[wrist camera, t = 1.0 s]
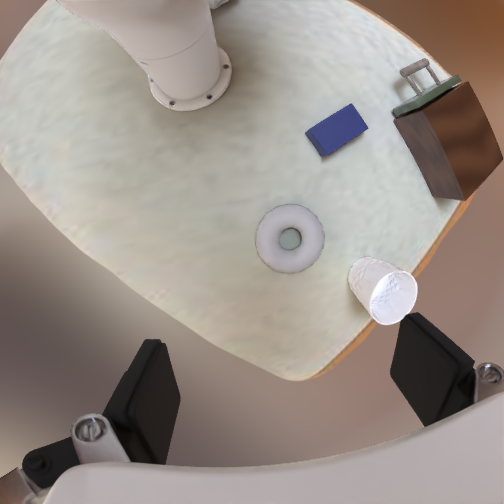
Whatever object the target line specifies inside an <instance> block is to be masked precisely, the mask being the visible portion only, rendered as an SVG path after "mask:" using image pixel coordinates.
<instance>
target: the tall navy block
mask: <svg viewBox="0 0 504 504" xmlns="http://www.w3.org/2000/svg"><path fill="white" fill-rule="evenodd" d="M367 129H368V126H367V125H366V123H365V122H364V120H363V119H362V118H361V116H360V115H359V113H358V112H357V110H356V109H355V107H354V106H353V105H352V103H351V104H349V105H348V106H346V107H344V108H343V109H341V110H339V111H338V112H336V113H334V114H333V115H331V116H330V117H328V118H326V119H325V120H323V121H321V122H320V123H318V124H317V125H315V126H314V127H312V128H310V129H309V130H308V131H307V132H305V134H306V135H307V137H308V138H309V139H310V141H311V142H312V143H313V145H314V146H315V148H316V149H317V151H318V152H319V153H320V155H321V156H322V157H324V156H327V155H329V154H331V153H332V152H334V151H335V150H337V149H338V148H340V147H341V146H343V145H344V144H346V143H347V142H349V141H350V140H352V139H353V138H355V137H356V136H358V135H359V134H361V133H362V132H364V131H365V130H367Z"/></svg>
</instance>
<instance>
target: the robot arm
mask: <svg viewBox="0 0 504 504" xmlns="http://www.w3.org/2000/svg"><path fill="white" fill-rule="evenodd" d="M56 1H57V2H58V3H59V4H60V5H62V6H63V7H64V8H65V9H66V10H68V11H69V12H71V13H72V14H74V15H76V16H78V17H80V18H81V19H84V20H86V21H88V22H90V23H92V24H94V25H96V26H98V27H100V28H101V29H103V30H104V31H106V32H107V33H108V34H109V35H111V36H112V37H113V38H114V39H115V40H116V41H117V42H118V43H119V44H120V45H121V46H122V47H123V48H124V49H125V50H126V51H127V52H128V53H129V54H130V56H131V57H132V58H133V59H134V60H135V61H136V62H137V63H138V64H139V65H140V66H141V67H142V69H143V70H144V71H145V72H146V73H147V74H148V75H149V87H150V90H151V93H152V94H153V96H154V98H155V99H156V100H157V101H158V102H159V103H161V104H162V105H163V106H165V107H167V108H169V109H172V110H176V111H193V110H197V109H201V108H203V107H206V106H208V105H210V104H211V103H213V102H214V101H216V100H217V99H218V98H219V97H220V96H221V95H222V94H223V93H224V92H225V90H226V89H227V87H228V85H229V83H230V80H231V75H232V66H231V62H230V59H229V57H228V55H227V53H226V52H225V51H224V50H223V49H222V48H221V47H219V46H218V45H217V43H216V38H215V33H214V28H213V22H212V17H211V12H210V7H209V4H208V1H207V0H56ZM225 68H228V69H225ZM209 97H212V99H209ZM173 103H175V104H174V105H173V106H172V104H173ZM474 363H475V361H474V360H473V359H472V358H471V357H470V356H469V355H468V354H466V353H465V352H464V351H463V350H462V349H461V348H460V347H459V346H457V345H456V344H455V343H454V342H453V341H452V340H451V339H449V338H448V337H447V336H446V335H445V334H444V333H442V332H441V331H440V330H439V329H438V328H437V327H435V326H434V325H433V324H432V323H430V322H429V321H428V320H427V319H425V317H423V316H422V315H421V314H420V313H418V312H416V313H411V314H406V315H405V316H404V318H403V319H402V320H401V322H400V328H399V333H398V338H397V343H396V348H395V352H394V357H393V361H392V365H391V369H390V375H391V378H392V379H393V381H394V382H395V383H396V385H397V386H398V388H399V389H400V391H401V392H402V393H403V395H404V396H405V398H406V399H407V401H408V402H409V404H410V405H411V407H412V408H413V410H414V411H415V413H416V414H417V416H418V417H419V419H420V420H421V422H422V423H423V425H424V426H425V427H424V428H422V429H419V430H417V431H414V432H412V433H409V434H407V435H404V436H401V437H398V438H395V439H392V440H389V441H386V442H383V443H380V444H377V445H374V446H370V447H366V448H363V449H359V450H355V451H351V452H347V453H343V454H339V455H334V456H329V457H324V458H319V459H314V460H307V461H301V462H295V463H286V464H278V465H267V466H253V467H223V468H222V467H217V468H216V467H184V466H170V465H165V464H166V460H167V455H168V451H169V446H170V442H171V438H172V433H173V430H174V425H175V421H176V417H177V413H178V409H179V405H180V393H179V389H178V386H177V383H176V379H175V376H174V372H173V369H172V365H171V362H170V358H169V354H168V350H167V346H166V344H165V343H162V342H161V340H159V339H146V340H145V341H144V342H143V344H142V346H141V347H140V349H139V351H138V353H137V354H136V356H135V358H134V360H133V361H132V363H131V365H130V367H129V369H128V371H126V372H125V373H124V375H123V377H122V378H121V380H120V382H119V384H118V386H117V387H116V389H115V391H114V393H113V395H112V397H111V399H110V400H109V402H108V404H107V406H106V408H105V410H104V412H103V414H102V415H98V414H87V415H84V416H82V417H79V418H78V419H77V420H76V421H75V422H74V423H73V424H72V426H71V430H70V431H71V437H69V438H66V439H64V440H61V441H58V442H55V443H53V444H50V445H47V446H44V447H41V448H38V449H35V450H33V451H30V452H29V453H28V454H27V455H26V456H25V457H24V459H23V463H22V467H23V468H22V469H21V470H20V469H19V468H18V467H17V468H15V469H14V470H12V471H11V472H9V473H8V474H6V475H4V476H3V477H1V478H0V504H504V371H503V369H502V368H501V367H499V366H498V365H496V364H493V363H482V364H480V365H478V366H477V367H476V369H474V368H473V365H474Z"/></svg>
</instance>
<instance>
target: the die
mask: <svg viewBox="0 0 504 504" xmlns="http://www.w3.org/2000/svg"><path fill="white" fill-rule="evenodd" d="M207 1H208V4H209V7H210V8H211V9H216V8H218V7H219V6H221V5H222V4H224V3H226V2H227V1H229V0H207Z"/></svg>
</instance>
